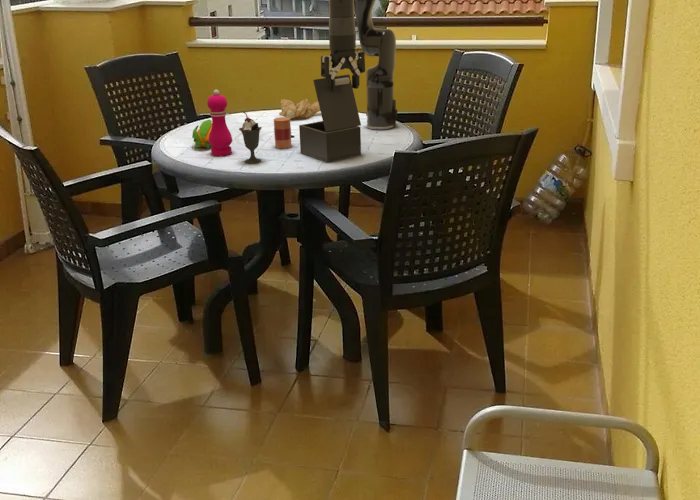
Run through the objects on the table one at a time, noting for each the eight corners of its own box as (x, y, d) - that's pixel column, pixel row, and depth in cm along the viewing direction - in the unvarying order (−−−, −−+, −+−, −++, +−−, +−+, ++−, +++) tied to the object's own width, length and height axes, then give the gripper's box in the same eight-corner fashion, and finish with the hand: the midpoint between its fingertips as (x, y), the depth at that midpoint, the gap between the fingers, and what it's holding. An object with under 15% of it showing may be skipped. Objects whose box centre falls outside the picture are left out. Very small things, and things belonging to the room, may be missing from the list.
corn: (189, 127, 255) (199, 113, 273) (189, 151, 257) (199, 135, 276) (212, 128, 255) (221, 114, 273) (213, 152, 258) (221, 136, 276)
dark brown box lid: (313, 80, 237) (323, 75, 232) (347, 74, 244) (358, 70, 239) (325, 132, 238) (335, 128, 233) (359, 125, 245) (370, 122, 240)
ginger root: (267, 117, 295) (269, 94, 294) (286, 118, 310) (288, 97, 308) (306, 121, 290) (308, 98, 288) (324, 122, 304) (326, 100, 303)
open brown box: (300, 153, 252) (299, 125, 249) (333, 146, 259) (332, 118, 256) (327, 162, 241) (326, 133, 238) (361, 155, 248) (360, 126, 245)
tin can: (289, 144, 263) (287, 116, 260) (293, 147, 259) (292, 119, 255) (273, 145, 262) (271, 118, 258) (277, 149, 257) (275, 121, 254)
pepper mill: (228, 156, 250) (223, 91, 243) (206, 156, 252) (200, 91, 244) (236, 150, 257) (231, 87, 249) (214, 150, 258) (209, 87, 251)
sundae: (242, 158, 248) (238, 110, 242) (264, 157, 248) (260, 109, 243) (241, 164, 242) (237, 114, 236) (263, 163, 242) (260, 113, 236)
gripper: (329, 36, 224) (331, 95, 230) (370, 31, 231) (371, 88, 237) (314, 33, 229) (316, 91, 235) (354, 29, 237) (355, 85, 243)
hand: (343, 90), depth 236 cm, fingers open, 8 cm apart
